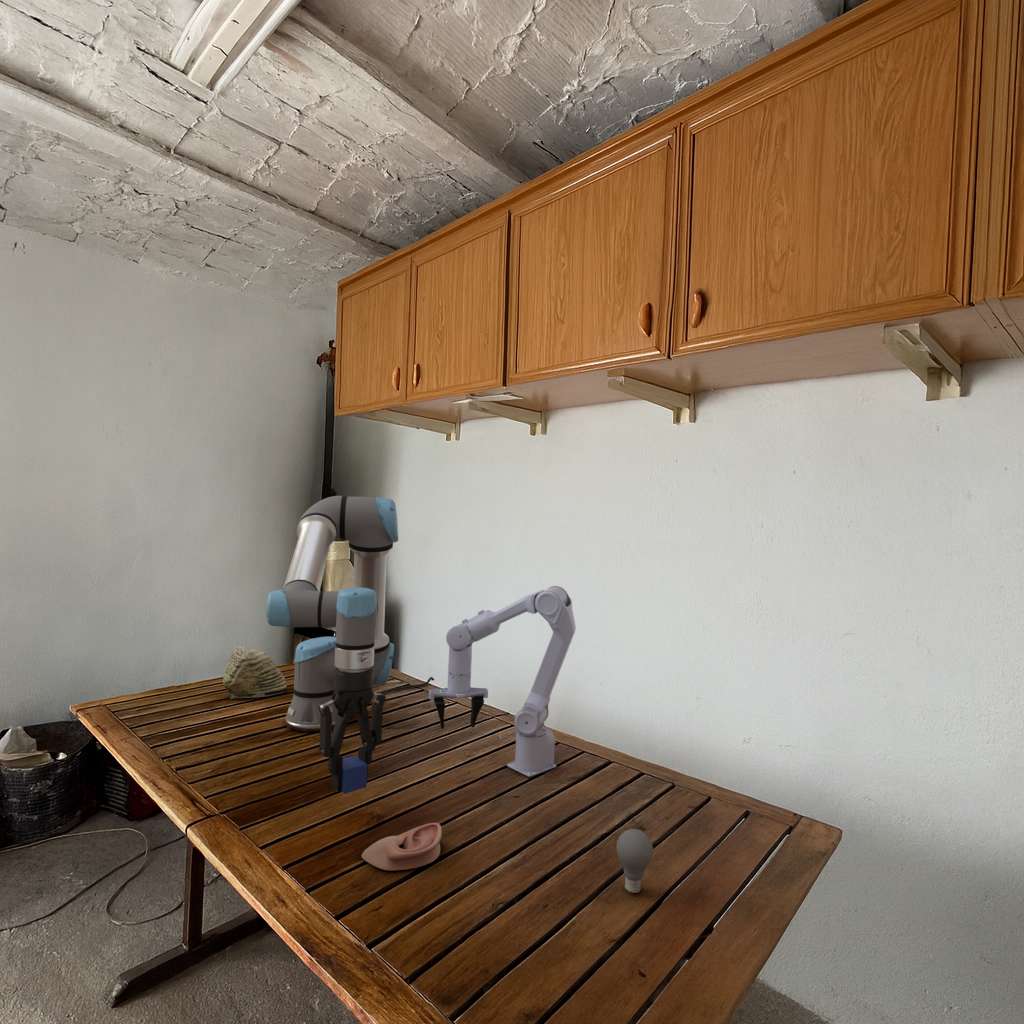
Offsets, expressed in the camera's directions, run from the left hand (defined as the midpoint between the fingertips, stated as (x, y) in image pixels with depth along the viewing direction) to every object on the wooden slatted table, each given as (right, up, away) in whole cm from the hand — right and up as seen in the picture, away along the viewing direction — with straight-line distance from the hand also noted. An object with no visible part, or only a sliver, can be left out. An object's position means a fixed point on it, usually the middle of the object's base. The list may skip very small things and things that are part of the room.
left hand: (349, 784), depth 125 cm
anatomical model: (+12, -8, -11) cm, 18 cm away
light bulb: (+52, -10, -19) cm, 56 cm away
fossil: (-49, -3, +73) cm, 88 cm away
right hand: (+18, 0, +33) cm, 38 cm away
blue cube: (0, 0, 0) cm, 0 cm away
